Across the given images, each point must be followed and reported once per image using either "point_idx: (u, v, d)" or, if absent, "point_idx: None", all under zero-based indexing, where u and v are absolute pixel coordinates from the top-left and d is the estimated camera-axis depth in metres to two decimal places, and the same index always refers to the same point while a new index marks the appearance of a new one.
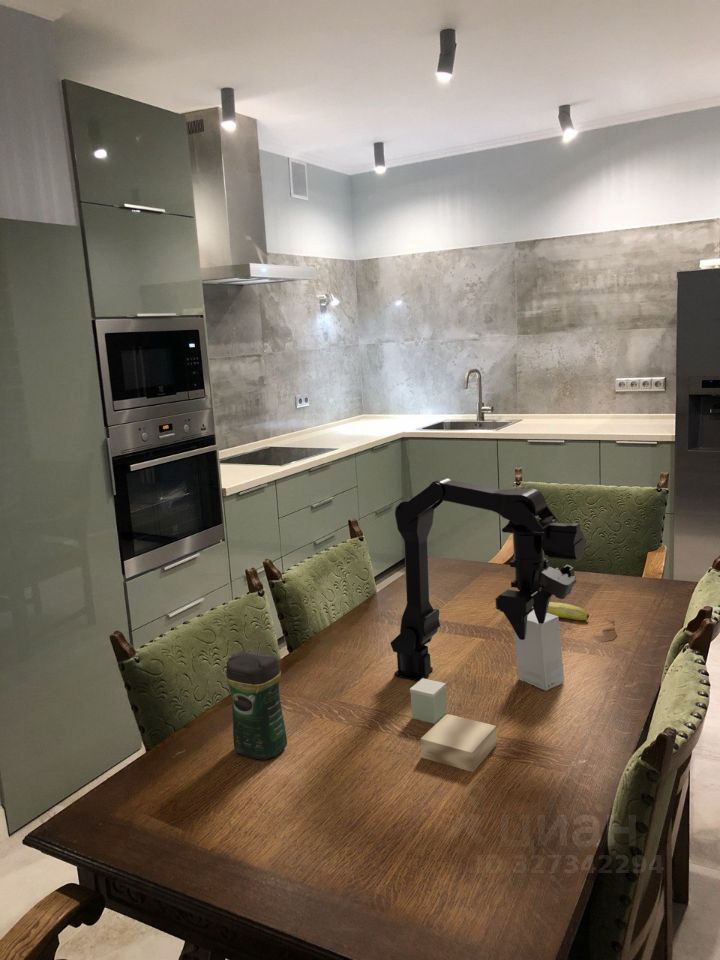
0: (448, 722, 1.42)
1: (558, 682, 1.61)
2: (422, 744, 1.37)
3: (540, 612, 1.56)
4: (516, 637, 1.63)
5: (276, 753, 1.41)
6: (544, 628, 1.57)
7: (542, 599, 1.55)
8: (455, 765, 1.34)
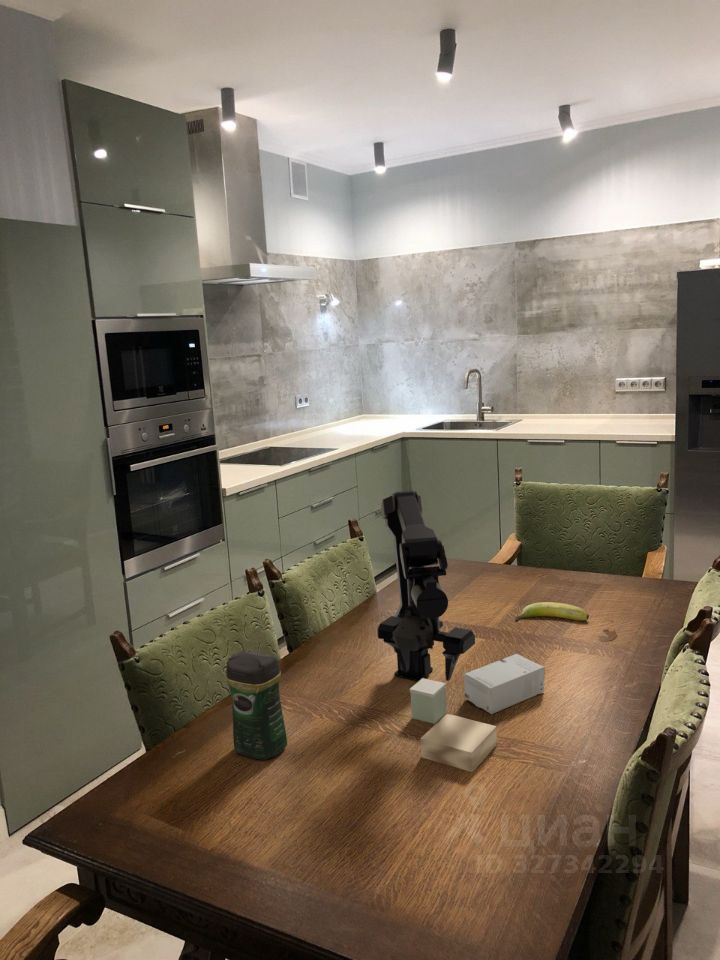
0: (449, 722, 1.42)
1: (542, 675, 1.57)
2: (422, 744, 1.37)
3: None
4: None
5: (276, 753, 1.41)
6: (495, 707, 1.51)
7: None
8: (454, 765, 1.34)
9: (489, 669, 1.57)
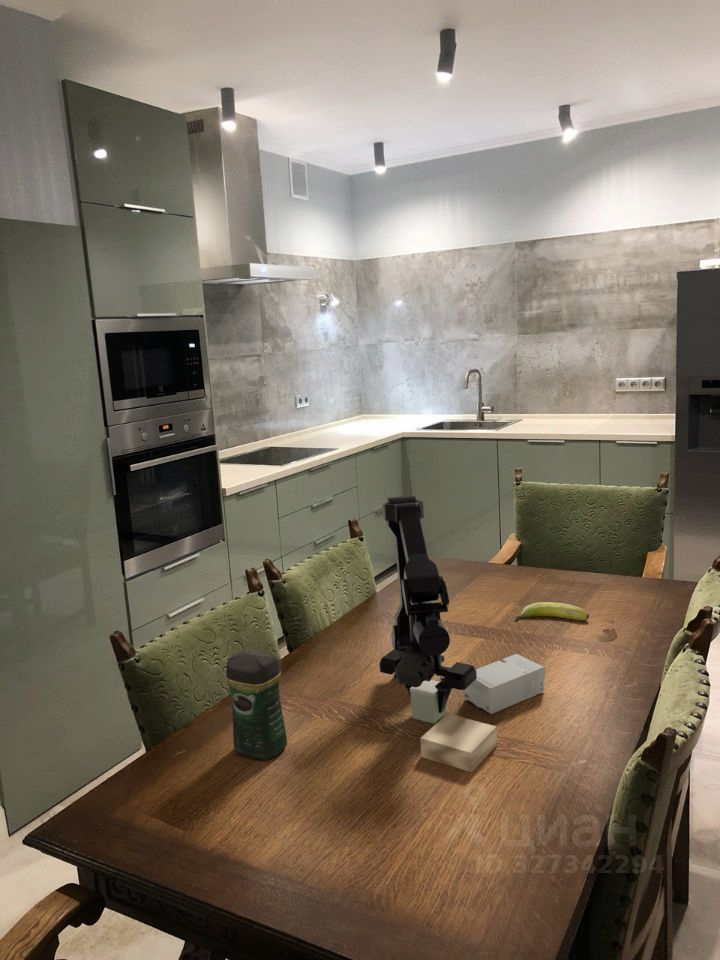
0: (449, 722, 1.42)
1: (542, 675, 1.57)
2: (422, 743, 1.37)
3: None
4: None
5: (276, 753, 1.41)
6: (495, 707, 1.51)
7: None
8: (454, 765, 1.34)
9: (489, 669, 1.57)
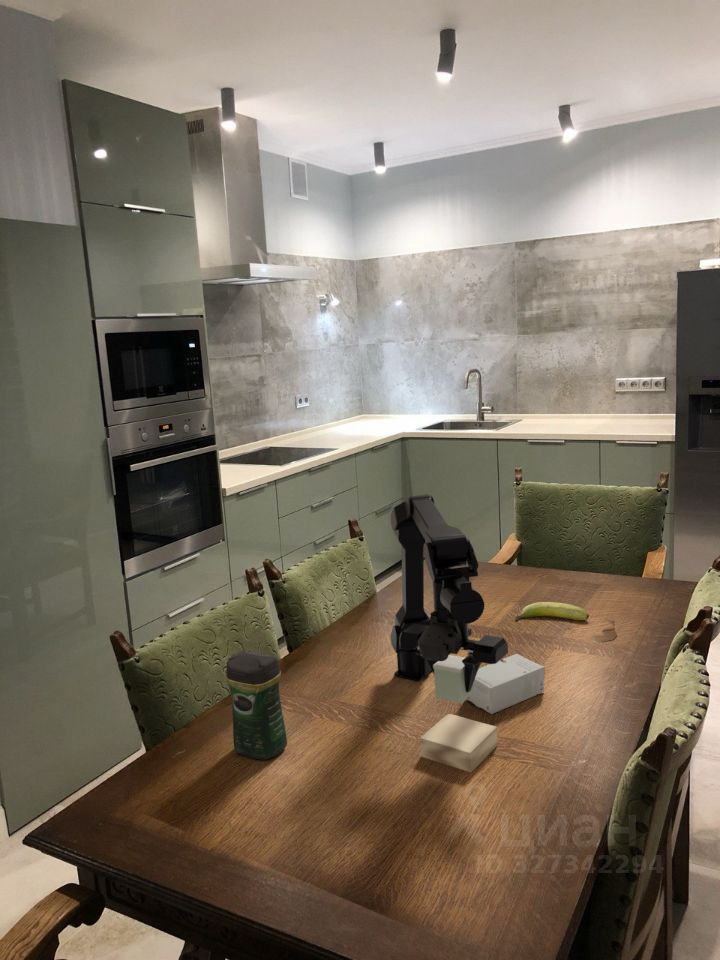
0: (449, 722, 1.42)
1: (542, 675, 1.57)
2: (421, 743, 1.38)
3: None
4: None
5: (276, 753, 1.41)
6: (495, 707, 1.51)
7: None
8: (453, 765, 1.34)
9: (489, 669, 1.57)
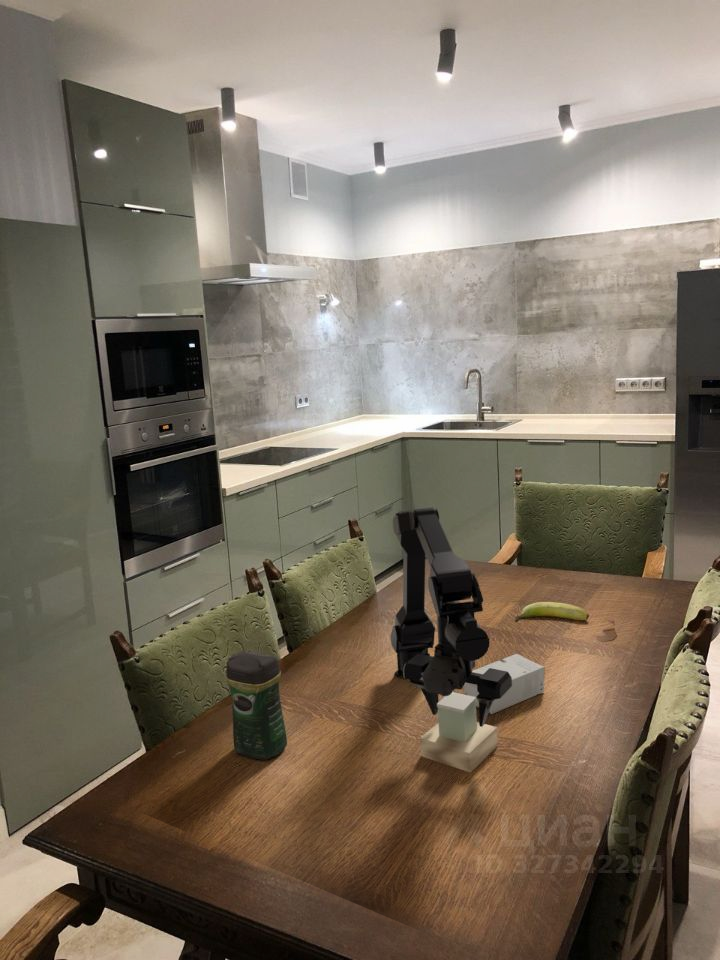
0: None
1: (542, 675, 1.57)
2: (421, 743, 1.38)
3: None
4: None
5: (276, 753, 1.41)
6: (495, 707, 1.51)
7: None
8: (453, 765, 1.34)
9: None
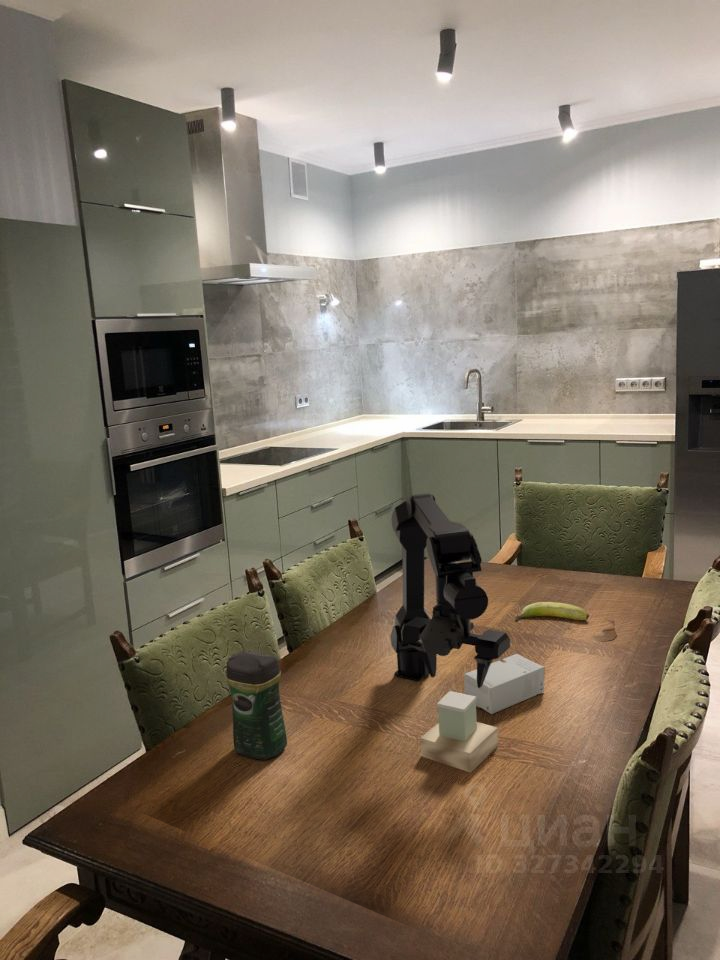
0: None
1: (542, 675, 1.57)
2: (422, 743, 1.38)
3: None
4: None
5: (276, 753, 1.41)
6: (495, 707, 1.51)
7: None
8: (453, 765, 1.34)
9: (489, 669, 1.57)
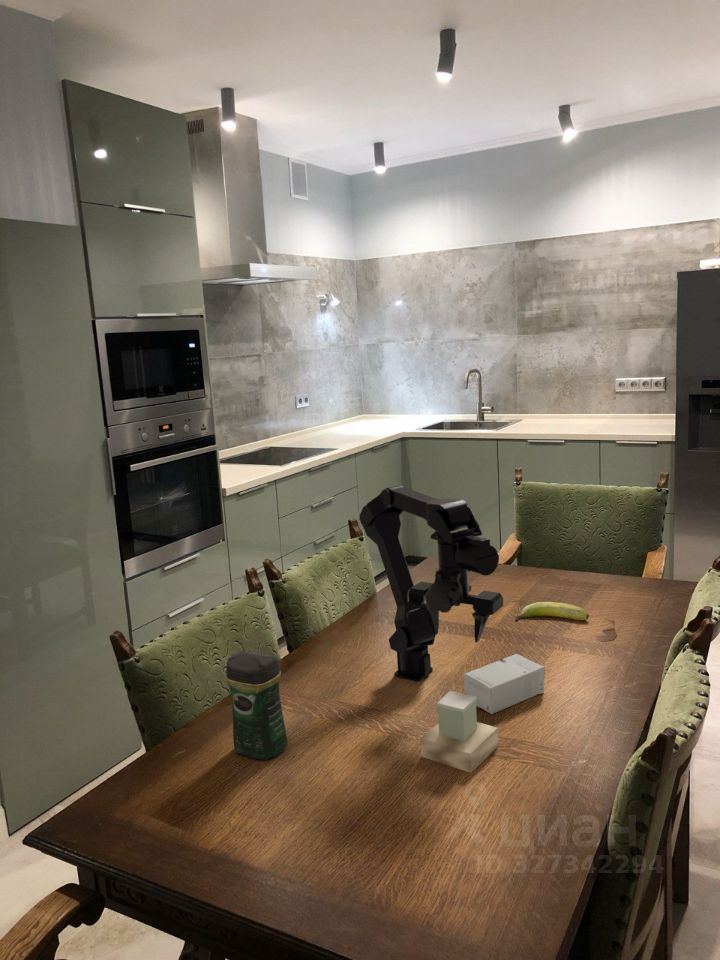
0: None
1: (542, 675, 1.57)
2: (422, 743, 1.38)
3: None
4: None
5: (276, 753, 1.41)
6: (495, 707, 1.51)
7: None
8: (453, 765, 1.34)
9: (489, 669, 1.57)
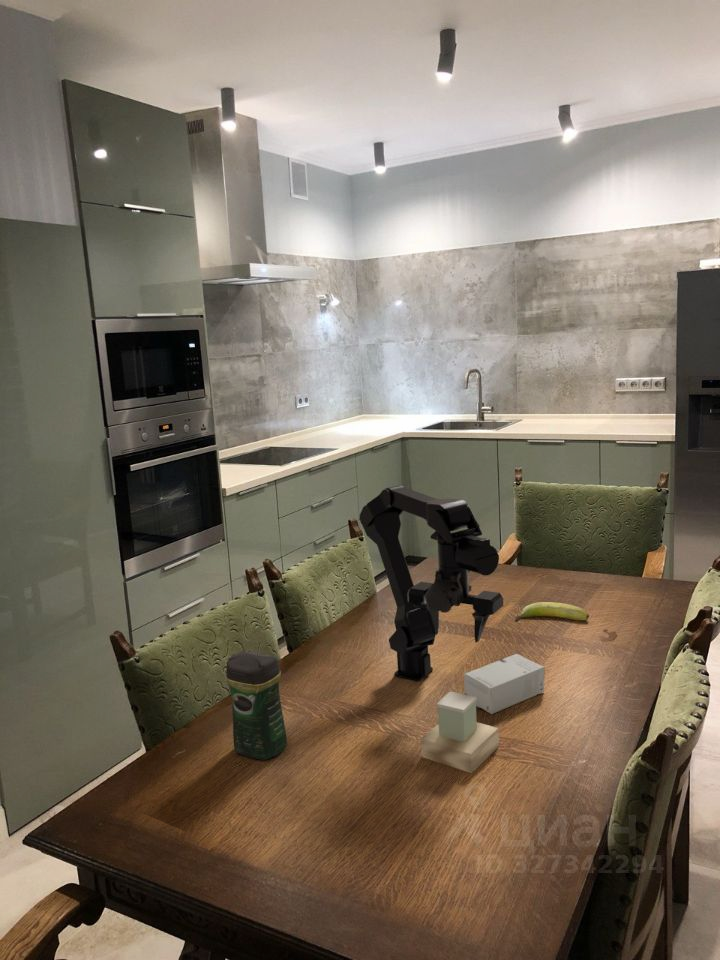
0: None
1: (542, 675, 1.57)
2: (422, 744, 1.37)
3: None
4: None
5: (276, 753, 1.41)
6: (495, 707, 1.51)
7: None
8: (454, 766, 1.34)
9: (489, 669, 1.57)
